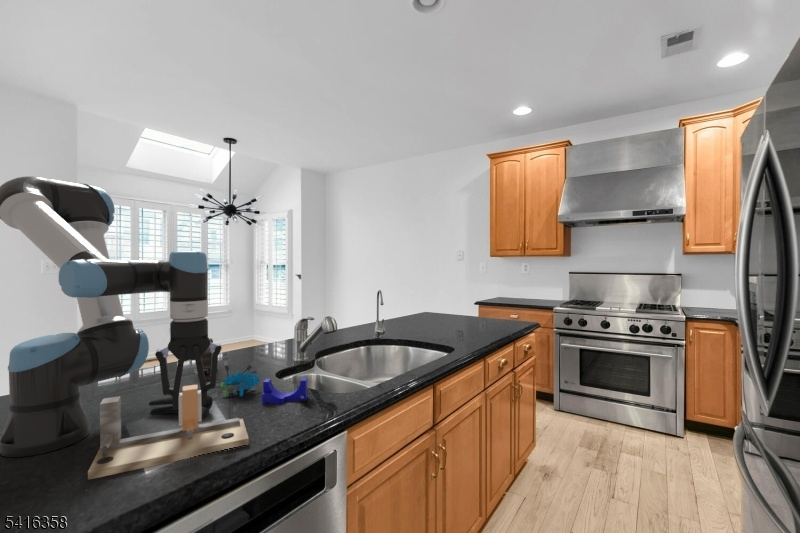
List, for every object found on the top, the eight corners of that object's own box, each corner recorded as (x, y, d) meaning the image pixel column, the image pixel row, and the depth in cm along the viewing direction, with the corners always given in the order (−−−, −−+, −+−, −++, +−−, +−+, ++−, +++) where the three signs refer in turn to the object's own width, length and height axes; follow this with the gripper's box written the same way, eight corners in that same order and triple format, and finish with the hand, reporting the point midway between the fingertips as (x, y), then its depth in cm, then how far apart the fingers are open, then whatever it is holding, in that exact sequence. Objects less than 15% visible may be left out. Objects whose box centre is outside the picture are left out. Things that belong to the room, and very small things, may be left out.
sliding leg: (182, 441, 81) (181, 397, 81) (183, 426, 88) (182, 386, 88) (198, 438, 82) (197, 395, 82) (197, 423, 89) (197, 384, 89)
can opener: (219, 411, 104) (219, 391, 104) (202, 422, 97) (202, 400, 97) (160, 408, 106) (160, 388, 106) (140, 418, 99) (139, 396, 99)
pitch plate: (87, 479, 71) (87, 418, 71) (101, 451, 81) (101, 397, 81) (248, 445, 84) (248, 393, 84) (242, 424, 95) (242, 378, 95)
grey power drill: (212, 374, 137) (212, 329, 136) (195, 376, 135) (195, 330, 134) (214, 366, 147) (214, 324, 147) (199, 368, 145) (198, 325, 145)
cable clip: (262, 404, 108) (261, 383, 108) (265, 398, 113) (265, 378, 113) (305, 402, 110) (304, 382, 110) (307, 397, 114) (307, 377, 114)
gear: (262, 382, 123) (255, 366, 115) (262, 399, 119) (254, 384, 111) (226, 389, 121) (216, 374, 113) (224, 407, 117) (214, 392, 109)
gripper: (144, 324, 80) (146, 435, 80) (229, 318, 87) (230, 420, 88) (149, 319, 86) (150, 422, 87) (227, 314, 94) (228, 409, 94)
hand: (190, 421), depth 87 cm, fingers closed on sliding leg, 3 cm apart
